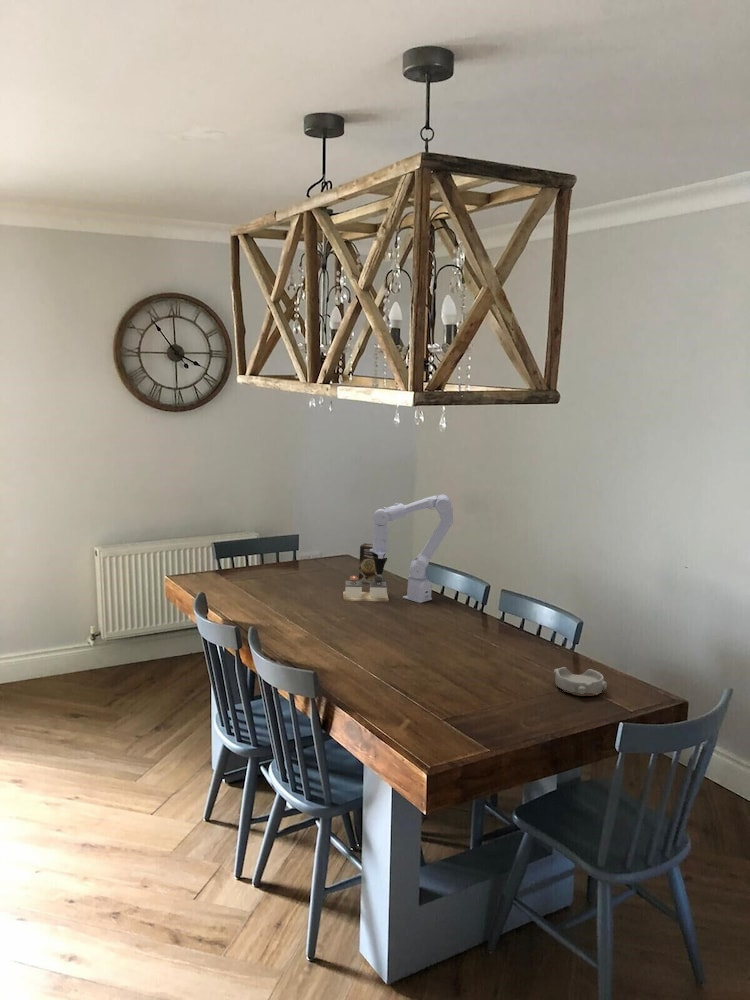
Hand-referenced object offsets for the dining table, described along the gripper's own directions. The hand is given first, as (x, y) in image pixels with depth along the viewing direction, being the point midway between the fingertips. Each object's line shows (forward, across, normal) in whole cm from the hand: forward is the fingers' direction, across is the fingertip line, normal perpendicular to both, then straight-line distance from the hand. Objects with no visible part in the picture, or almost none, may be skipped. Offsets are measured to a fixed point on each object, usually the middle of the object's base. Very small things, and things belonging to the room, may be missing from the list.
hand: (378, 571), depth 328 cm
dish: (+11, +94, +54) cm, 109 cm away
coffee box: (+11, -23, -2) cm, 26 cm away
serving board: (+10, +1, -5) cm, 12 cm away
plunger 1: (+8, +1, -10) cm, 13 cm away
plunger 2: (+8, +1, 0) cm, 8 cm away
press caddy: (+10, +1, -5) cm, 12 cm away
